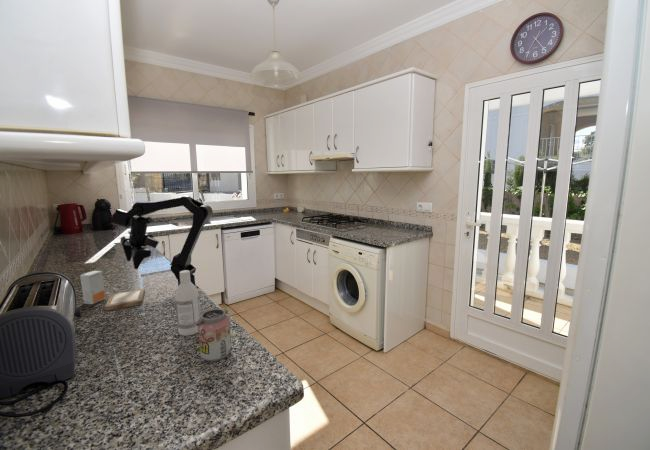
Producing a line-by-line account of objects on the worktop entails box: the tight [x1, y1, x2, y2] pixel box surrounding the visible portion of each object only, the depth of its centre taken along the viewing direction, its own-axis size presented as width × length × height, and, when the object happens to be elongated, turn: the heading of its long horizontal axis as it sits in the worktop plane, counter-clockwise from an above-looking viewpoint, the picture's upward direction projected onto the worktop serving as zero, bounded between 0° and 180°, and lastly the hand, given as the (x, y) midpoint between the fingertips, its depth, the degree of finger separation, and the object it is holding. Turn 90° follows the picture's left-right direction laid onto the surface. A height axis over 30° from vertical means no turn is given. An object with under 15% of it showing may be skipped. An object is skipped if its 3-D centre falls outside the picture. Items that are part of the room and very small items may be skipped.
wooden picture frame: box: [104, 288, 146, 311], centre depth 122 cm, size 12×14×2 cm
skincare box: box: [79, 270, 106, 305], centre depth 121 cm, size 6×4×12 cm
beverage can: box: [195, 308, 232, 362], centre depth 84 cm, size 9×8×12 cm
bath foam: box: [174, 270, 202, 337], centre depth 96 cm, size 7×7×20 cm
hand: (132, 264), depth 130 cm, fingers open, 9 cm apart
